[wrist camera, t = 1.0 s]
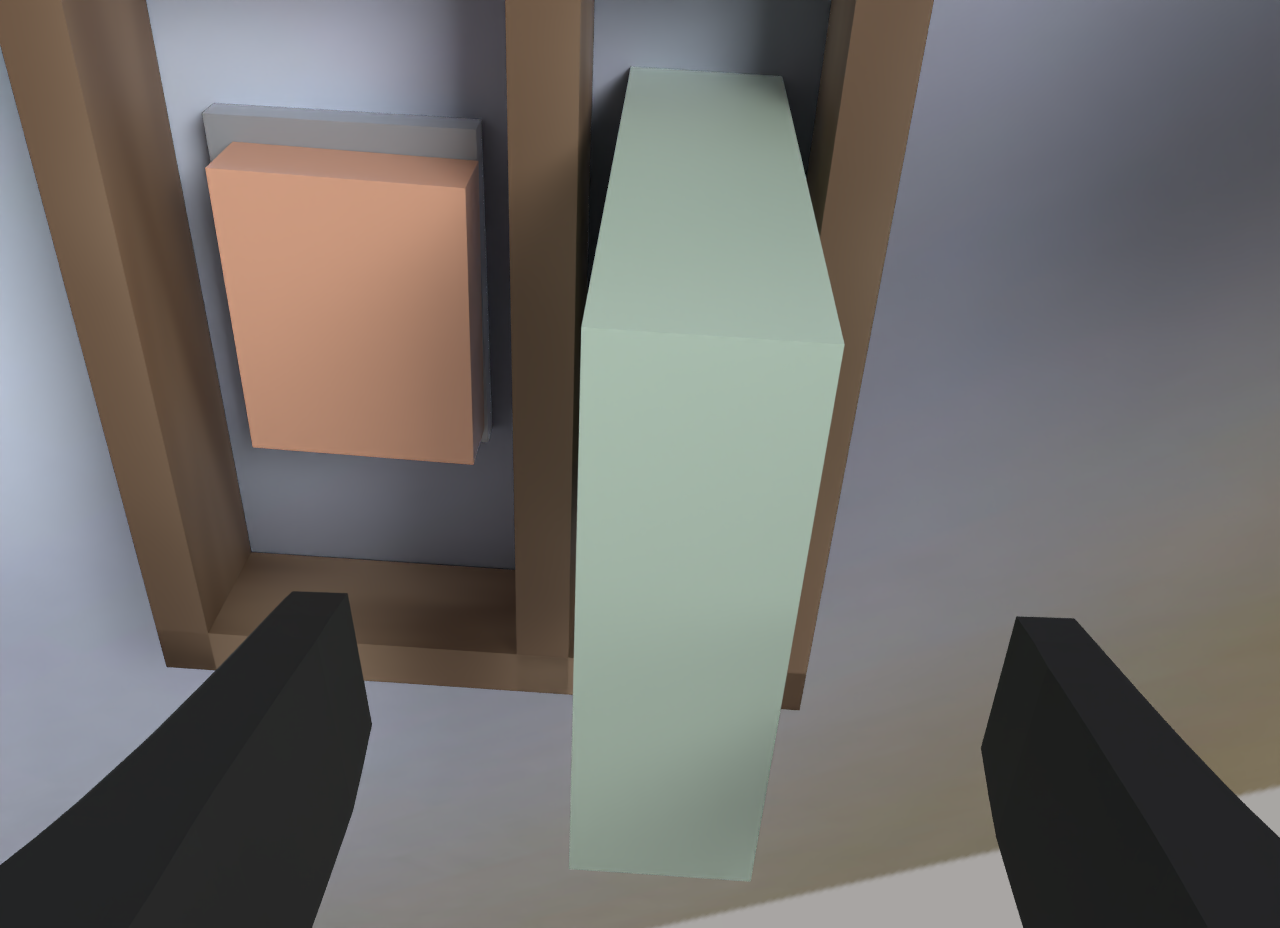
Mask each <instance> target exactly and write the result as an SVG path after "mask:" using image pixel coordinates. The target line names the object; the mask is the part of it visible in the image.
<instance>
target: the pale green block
mask: <svg viewBox="0 0 1280 928" xmlns="http://www.w3.org/2000/svg"><path fill="white" fill-rule="evenodd" d="M844 345H845V344H844V340H843V336H842V331H841V327H840V323H839V319H838V314H837V310H836V306H835V301H834V297H833V293H832V288H831V284H830V280H829V275H828V271H827V267H826V263H825V258H824V254H823V250H822V245H821V241H820V237H819V232H818V228H817V224H816V219H815V215H814V211H813V207H812V202H811V198H810V194H809V189H808V185H807V181H806V176H805V172H804V168H803V163H802V159H801V155H800V151H799V146H798V142H797V138H796V133H795V129H794V125H793V120H792V116H791V112H790V107H789V103H788V99H787V94H786V90H785V86H784V82H783V77H782V76H771V75H756V74H740V73H724V72H709V71H693V70H677V69H662V68H646V67H631V69H630V74H629V79H628V85H627V90H626V95H625V100H624V106H623V111H622V116H621V121H620V127H619V132H618V137H617V142H616V148H615V153H614V158H613V164H612V169H611V174H610V179H609V185H608V190H607V195H606V200H605V206H604V211H603V216H602V221H601V227H600V232H599V237H598V242H597V248H596V253H595V258H594V264H593V269H592V274H591V279H590V285H589V290H588V295H587V300H586V306H585V311H584V316H583V321H582V327H581V365H580V409H579V453H578V497H577V541H576V585H575V629H574V672H573V716H572V760H571V804H570V848H569V869H576V870H591V871H605V872H620V873H634V874H649V875H663V876H678V877H692V878H707V879H721V880H735V881H751V876H752V870H753V864H754V859H755V853H756V847H757V841H758V836H759V830H760V824H761V819H762V813H763V807H764V802H765V796H766V790H767V784H768V779H769V773H770V767H771V762H772V756H773V750H774V744H775V739H776V733H777V727H778V722H779V716H780V710H781V704H782V699H783V693H784V687H785V682H786V676H787V670H788V664H789V659H790V653H791V647H792V642H793V636H794V630H795V625H796V619H797V613H798V607H799V602H800V596H801V590H802V585H803V579H804V573H805V567H806V562H807V556H808V550H809V545H810V539H811V533H812V527H813V522H814V516H815V510H816V505H817V499H818V493H819V487H820V482H821V476H822V470H823V465H824V459H825V453H826V448H827V442H828V436H829V430H830V425H831V419H832V413H833V408H834V402H835V396H836V390H837V385H838V379H839V373H840V368H841V362H842V356H843V350H844Z"/></svg>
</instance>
